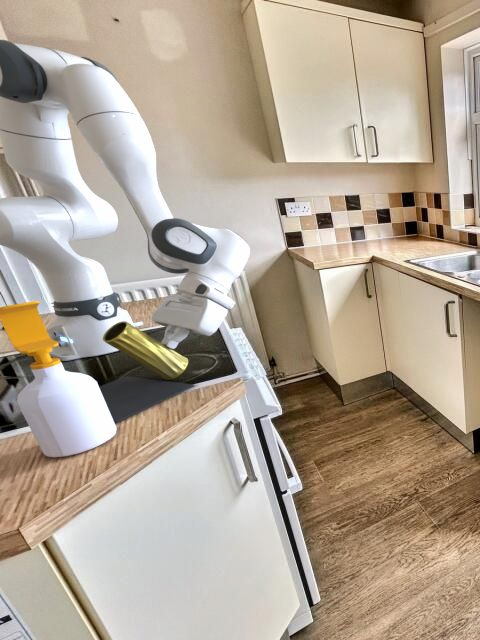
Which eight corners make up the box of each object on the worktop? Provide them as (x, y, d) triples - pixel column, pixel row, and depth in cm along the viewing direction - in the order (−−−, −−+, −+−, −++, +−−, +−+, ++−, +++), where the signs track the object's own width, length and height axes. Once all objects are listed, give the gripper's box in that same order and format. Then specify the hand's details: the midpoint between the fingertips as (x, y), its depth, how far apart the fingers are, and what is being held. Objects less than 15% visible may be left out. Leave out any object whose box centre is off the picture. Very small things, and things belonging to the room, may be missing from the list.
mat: (43, 410, 82) (42, 408, 82) (126, 377, 95) (125, 375, 95) (117, 422, 77) (116, 421, 77) (194, 386, 90) (193, 384, 90)
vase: (163, 385, 93) (98, 348, 82) (164, 366, 97) (102, 329, 86) (189, 370, 94) (128, 332, 83) (189, 353, 97) (130, 314, 86)
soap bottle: (53, 465, 65) (-24, 314, 57) (37, 448, 70) (-37, 306, 61) (125, 436, 72) (67, 298, 64) (106, 422, 77) (49, 292, 68)
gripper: (164, 282, 99) (128, 334, 95) (213, 289, 90) (176, 347, 85) (190, 296, 104) (158, 346, 100) (239, 304, 95) (206, 359, 91)
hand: (167, 346), depth 93 cm, fingers closed, pressing on vase
